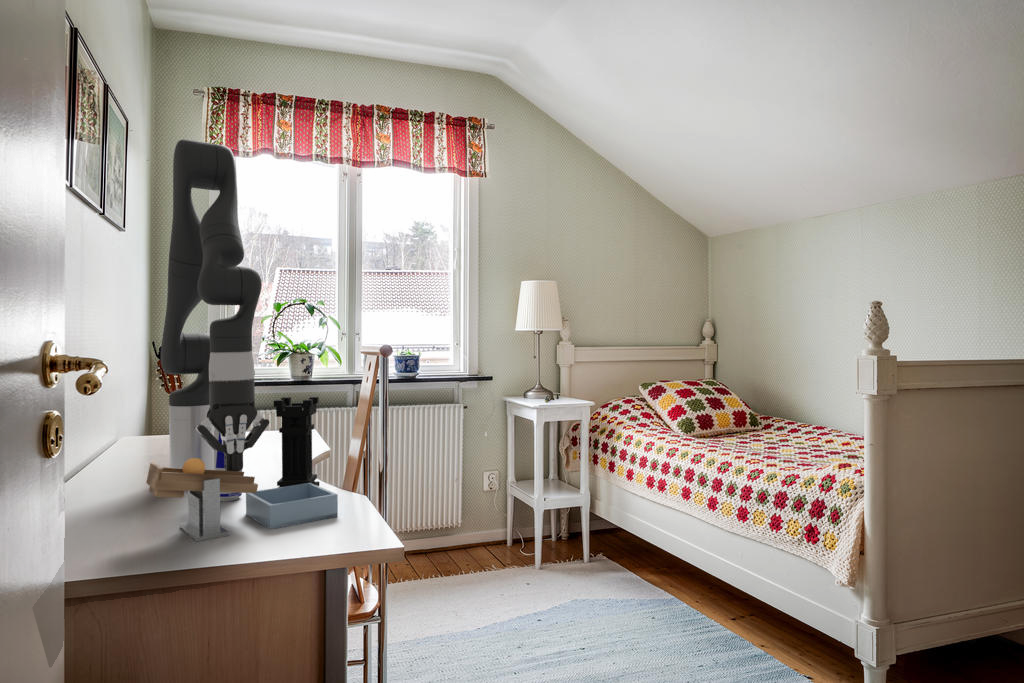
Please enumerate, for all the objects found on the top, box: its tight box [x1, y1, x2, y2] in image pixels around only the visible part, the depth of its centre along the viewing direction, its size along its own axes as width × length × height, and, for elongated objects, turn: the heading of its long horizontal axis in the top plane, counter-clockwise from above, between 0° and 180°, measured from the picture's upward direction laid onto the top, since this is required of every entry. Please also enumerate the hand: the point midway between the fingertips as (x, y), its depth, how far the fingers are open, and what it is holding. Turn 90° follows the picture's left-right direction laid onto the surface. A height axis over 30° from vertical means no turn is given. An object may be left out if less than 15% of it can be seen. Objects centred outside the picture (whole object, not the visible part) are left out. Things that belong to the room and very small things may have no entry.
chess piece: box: [273, 396, 320, 488], centre depth 135 cm, size 8×8×20 cm
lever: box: [146, 462, 259, 499], centre depth 114 cm, size 11×16×4 cm
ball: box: [183, 458, 205, 474], centre depth 111 cm, size 3×3×3 cm
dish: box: [245, 483, 339, 530], centre depth 122 cm, size 12×12×4 cm
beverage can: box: [214, 427, 243, 502], centre depth 134 cm, size 5×5×15 cm
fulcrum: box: [179, 478, 230, 542], centre depth 112 cm, size 10×5×10 cm, turn 40°
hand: (233, 473), depth 120 cm, fingers closed
